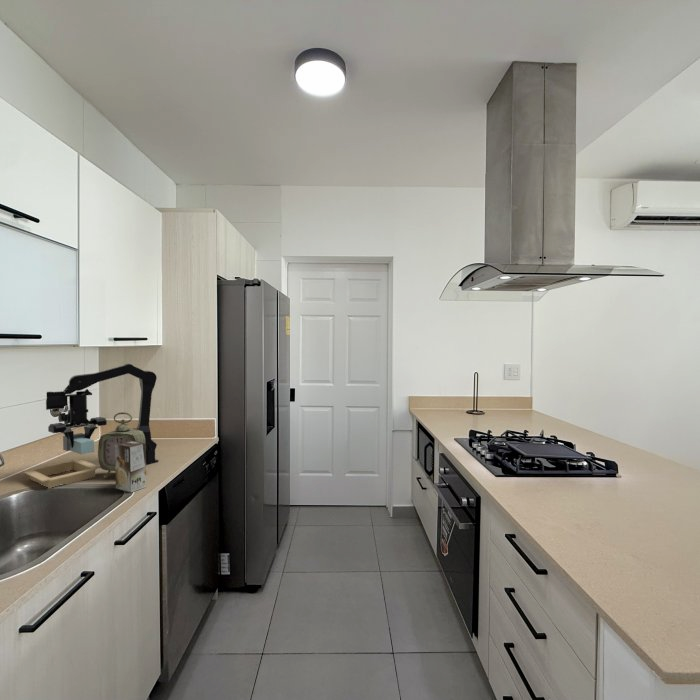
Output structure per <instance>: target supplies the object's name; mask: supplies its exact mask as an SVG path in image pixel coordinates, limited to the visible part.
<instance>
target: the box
mask: <svg viewBox="0 0 700 700" xmlns="http://www.w3.org/2000/svg"><path fill="white" fill-rule="evenodd" d="M62 446H63V447H62V449H63V451H66V452H69V451H70V452H73V453H76V454H79V455H86V454H90V453H91V454H92V453H94V452H95V440H94V439H92V438H90V439H87V438H85V433H82V432H79V433H74V445H73V448H71V446H70V444H69V442H68V440H67V438H66V436H65V435H63V436H62Z"/></svg>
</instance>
